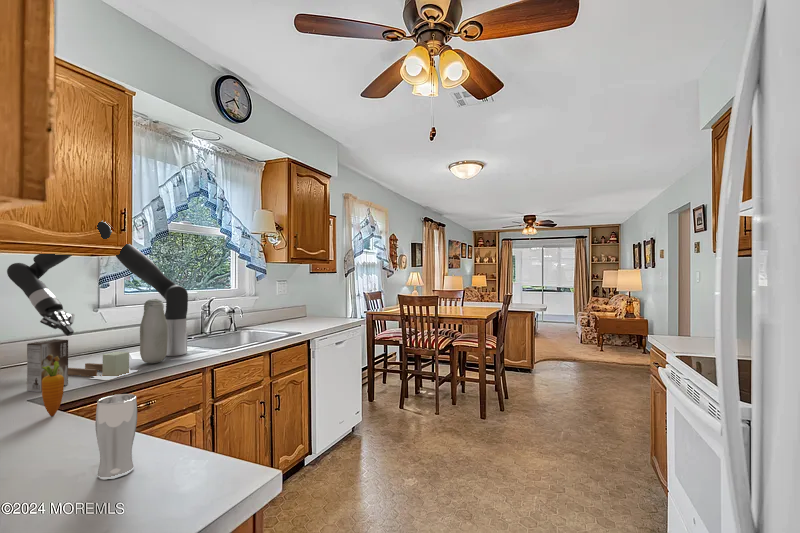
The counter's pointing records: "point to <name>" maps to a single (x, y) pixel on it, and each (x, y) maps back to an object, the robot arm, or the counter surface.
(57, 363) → the carrot
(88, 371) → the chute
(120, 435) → the beer glass
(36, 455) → the counter surface
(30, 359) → the coffee box
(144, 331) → the grey bottle
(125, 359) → the block
